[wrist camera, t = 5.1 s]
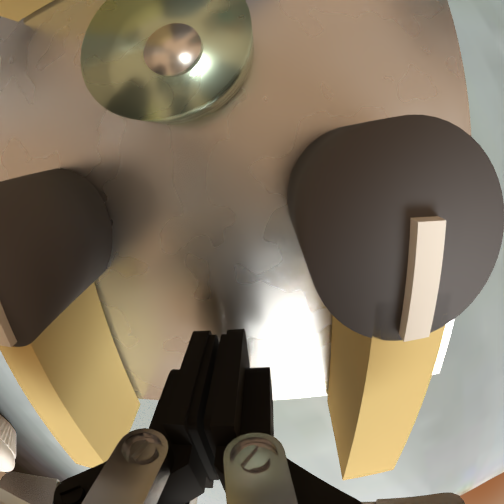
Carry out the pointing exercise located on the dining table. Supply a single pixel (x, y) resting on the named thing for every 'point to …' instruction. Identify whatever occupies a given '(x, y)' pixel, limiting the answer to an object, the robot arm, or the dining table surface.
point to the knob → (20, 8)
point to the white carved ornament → (7, 445)
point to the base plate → (214, 152)
